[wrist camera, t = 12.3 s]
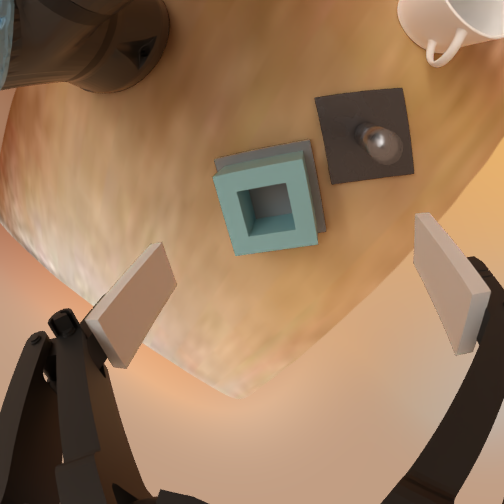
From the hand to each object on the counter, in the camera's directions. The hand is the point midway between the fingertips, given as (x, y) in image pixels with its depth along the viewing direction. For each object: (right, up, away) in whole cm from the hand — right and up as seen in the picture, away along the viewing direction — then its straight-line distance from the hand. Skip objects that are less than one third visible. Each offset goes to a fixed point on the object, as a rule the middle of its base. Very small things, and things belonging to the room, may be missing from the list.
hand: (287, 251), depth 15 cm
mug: (+18, +25, +8) cm, 32 cm away
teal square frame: (+1, +6, +20) cm, 21 cm away
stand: (+11, +13, +16) cm, 23 cm away
